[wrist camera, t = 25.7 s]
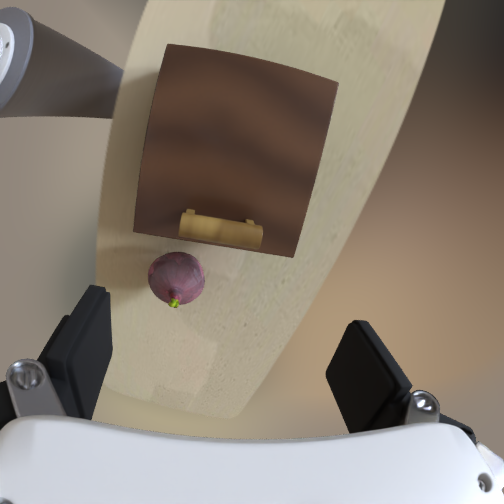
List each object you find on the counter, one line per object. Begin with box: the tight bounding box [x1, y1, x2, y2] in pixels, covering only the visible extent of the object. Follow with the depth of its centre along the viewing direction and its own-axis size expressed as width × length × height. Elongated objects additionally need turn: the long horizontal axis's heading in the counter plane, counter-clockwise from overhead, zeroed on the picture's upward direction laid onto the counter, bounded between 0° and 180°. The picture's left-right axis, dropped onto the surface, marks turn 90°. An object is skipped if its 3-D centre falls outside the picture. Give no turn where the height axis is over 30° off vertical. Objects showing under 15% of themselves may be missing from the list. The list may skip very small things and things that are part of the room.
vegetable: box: [148, 252, 205, 308], centre depth 31 cm, size 6×6×10 cm
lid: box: [133, 44, 339, 258], centre depth 22 cm, size 16×15×5 cm
